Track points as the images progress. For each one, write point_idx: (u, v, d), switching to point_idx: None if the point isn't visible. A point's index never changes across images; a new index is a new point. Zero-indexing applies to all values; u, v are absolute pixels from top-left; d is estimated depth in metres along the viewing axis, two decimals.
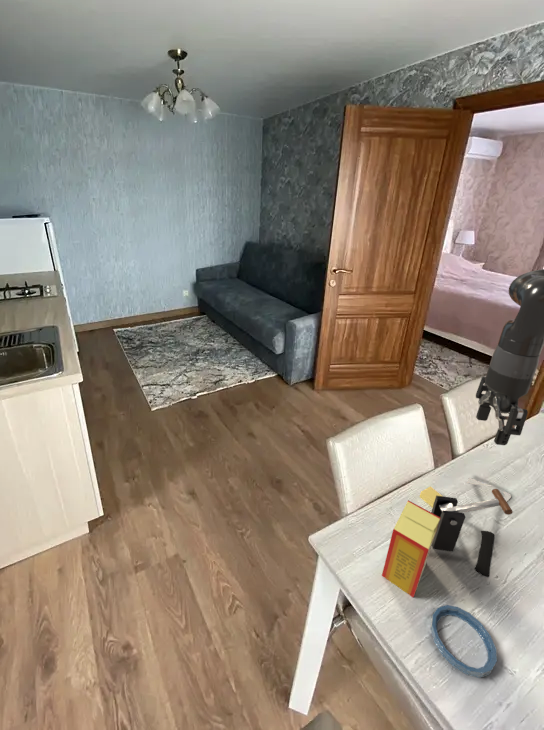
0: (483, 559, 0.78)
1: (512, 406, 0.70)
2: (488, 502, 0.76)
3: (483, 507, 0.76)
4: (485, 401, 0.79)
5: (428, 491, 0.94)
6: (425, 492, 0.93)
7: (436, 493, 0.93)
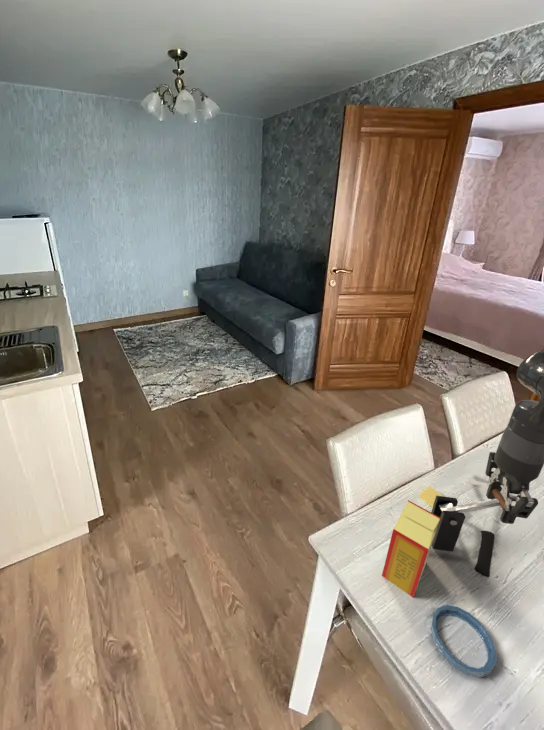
0: (483, 559, 0.78)
1: (523, 492, 0.68)
2: (488, 502, 0.76)
3: (483, 507, 0.76)
4: (495, 480, 0.76)
5: (428, 491, 0.94)
6: (425, 492, 0.93)
7: (436, 493, 0.93)
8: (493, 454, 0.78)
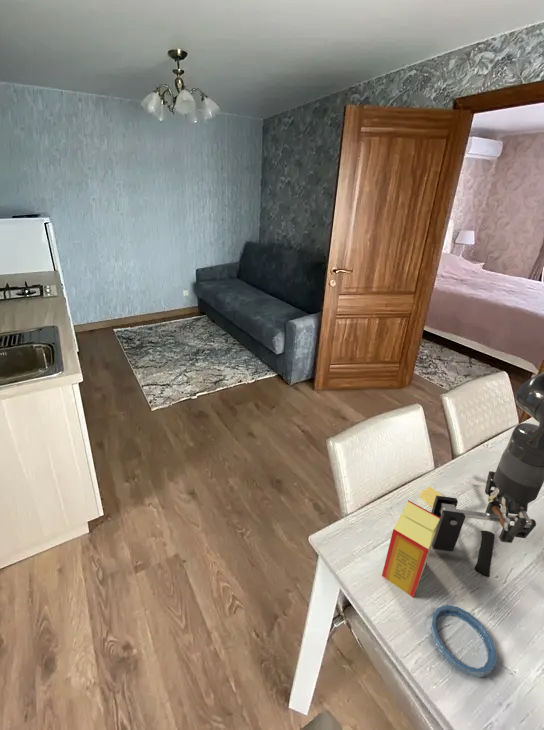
0: (483, 559, 0.78)
1: (521, 513, 0.70)
2: (489, 515, 0.77)
3: (483, 518, 0.77)
4: (495, 499, 0.78)
5: (428, 491, 0.94)
6: (425, 492, 0.93)
7: (436, 493, 0.93)
8: (492, 473, 0.80)
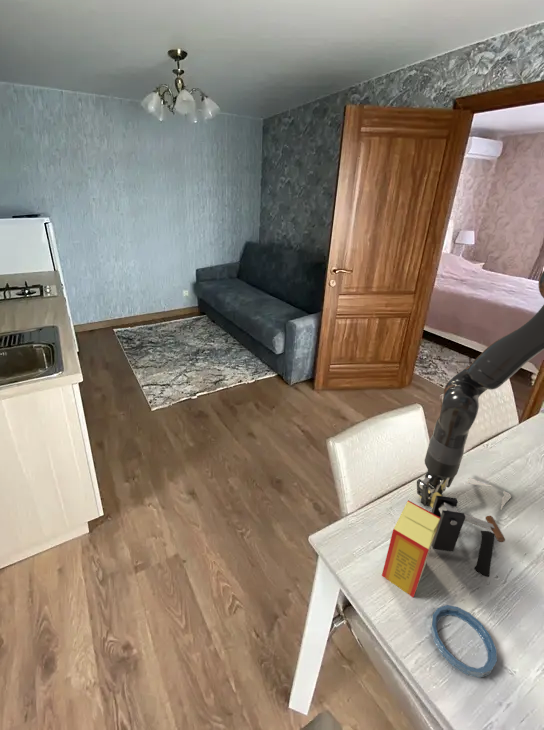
0: (483, 559, 0.78)
1: None
2: (485, 523, 0.78)
3: (479, 524, 0.78)
4: None
5: (428, 491, 0.94)
6: None
7: (436, 493, 0.93)
8: None
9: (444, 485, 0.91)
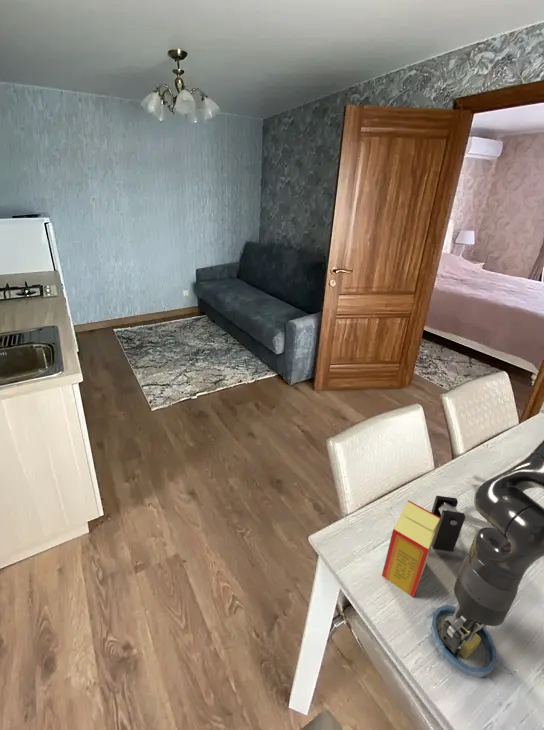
0: None
1: (455, 621, 0.59)
2: (485, 523, 0.78)
3: (479, 524, 0.78)
4: None
5: None
6: None
7: None
8: None
9: None
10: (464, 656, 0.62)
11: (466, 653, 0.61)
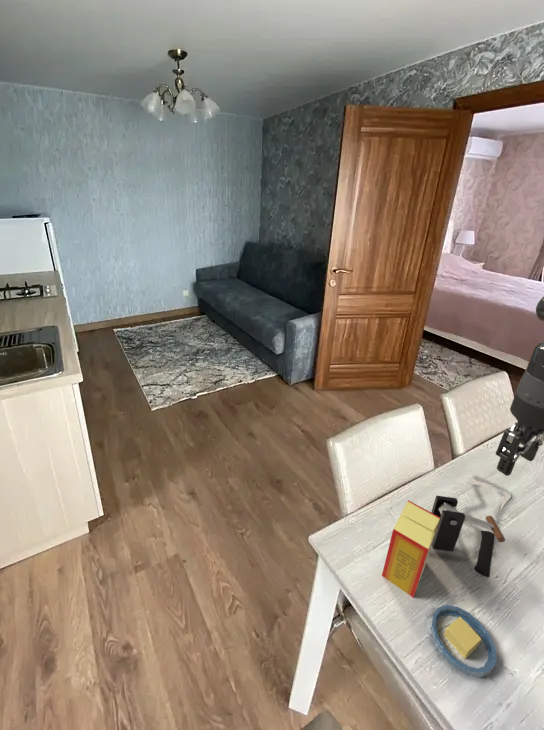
0: (483, 559, 0.78)
1: None
2: (485, 523, 0.78)
3: (479, 524, 0.78)
4: None
5: (458, 627, 0.64)
6: (453, 629, 0.64)
7: (470, 631, 0.64)
8: None
9: (540, 440, 0.67)
10: (464, 656, 0.62)
11: (466, 653, 0.61)
